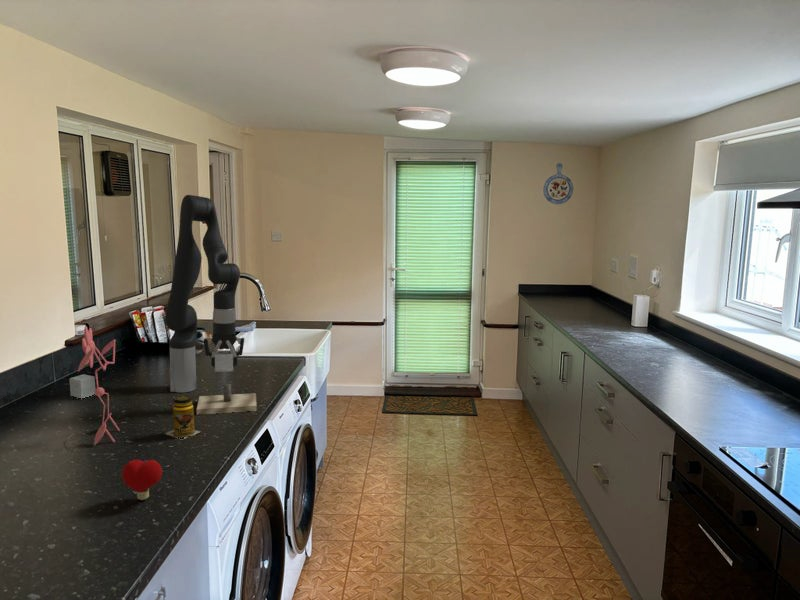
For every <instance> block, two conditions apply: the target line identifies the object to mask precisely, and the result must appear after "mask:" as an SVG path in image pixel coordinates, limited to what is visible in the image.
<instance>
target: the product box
mask: <svg viewBox="0 0 800 600" xmlns="http://www.w3.org/2000/svg"><path fill="white" fill-rule="evenodd" d="M69 390H70V397H71V396H74V397H77V398H76V399H78V398H81V399H80V400H83V399H82V398H85V397H88V398H90V397H89V396H91V397H93V396H92V395H94V394H95V390H96V376H93V375H88V374H80V375H77V376H74V377H73V376H71V377H70V378H69ZM94 396H95V395H94ZM85 399H86V398H85Z"/></svg>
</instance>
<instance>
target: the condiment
mask: <svg viewBox="0 0 800 600" xmlns="http://www.w3.org/2000/svg"><path fill="white" fill-rule="evenodd" d="M194 409H195V408H194V405H193V398H192V396H190V395H187V394H186V395H184V394H183V395H179V396H175V398H173V407H172V419H173V420H172V421H173V422H172V423H173V430H171V431H168V432H165V433H166V434H165V435H166V436H170V437H173V438H176V439H178V437H181V438H182V437H184V439H183V440H185V439H187V437H188V436H191V437H193V436H194V435H197V434H199V433H201V431H200V430H195V414H194V413H195V412H194ZM174 436H175V437H174ZM188 438H189V437H188ZM179 440H181V439H180V438H179Z"/></svg>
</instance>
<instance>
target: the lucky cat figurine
mask: <svg viewBox="0 0 800 600" xmlns="http://www.w3.org/2000/svg"><path fill="white" fill-rule="evenodd" d="M212 337H213V335H212V333H211V332H209V333H207V332H206V331H205V330H202V329H197V338H196V340H195V355H199V354H201V353H202V352H203V350H205V347H204V339H205V338H212Z"/></svg>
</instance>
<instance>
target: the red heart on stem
mask: <svg viewBox="0 0 800 600" xmlns="http://www.w3.org/2000/svg"><path fill="white" fill-rule="evenodd" d="M162 476H163V468H162V466H161V465H160V463H159V462H158V461H156V460H154V459H148V460H145V461H143V460H140V459H133V460H130V461H128V462H127V463H126V464H125V465H124V466H123V468H122V470H121V478H122V480H123V483H124V484H125V485H126V486H127V487H128V488H130V489H131V490H133V491H135V492H136V497H137V499H138V500H140V501H145V500H147V499H148V498H149V497H150V488H152V487H153V486H156V485H157V484H158V483H159V482H160V481H161V479H162Z"/></svg>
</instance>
